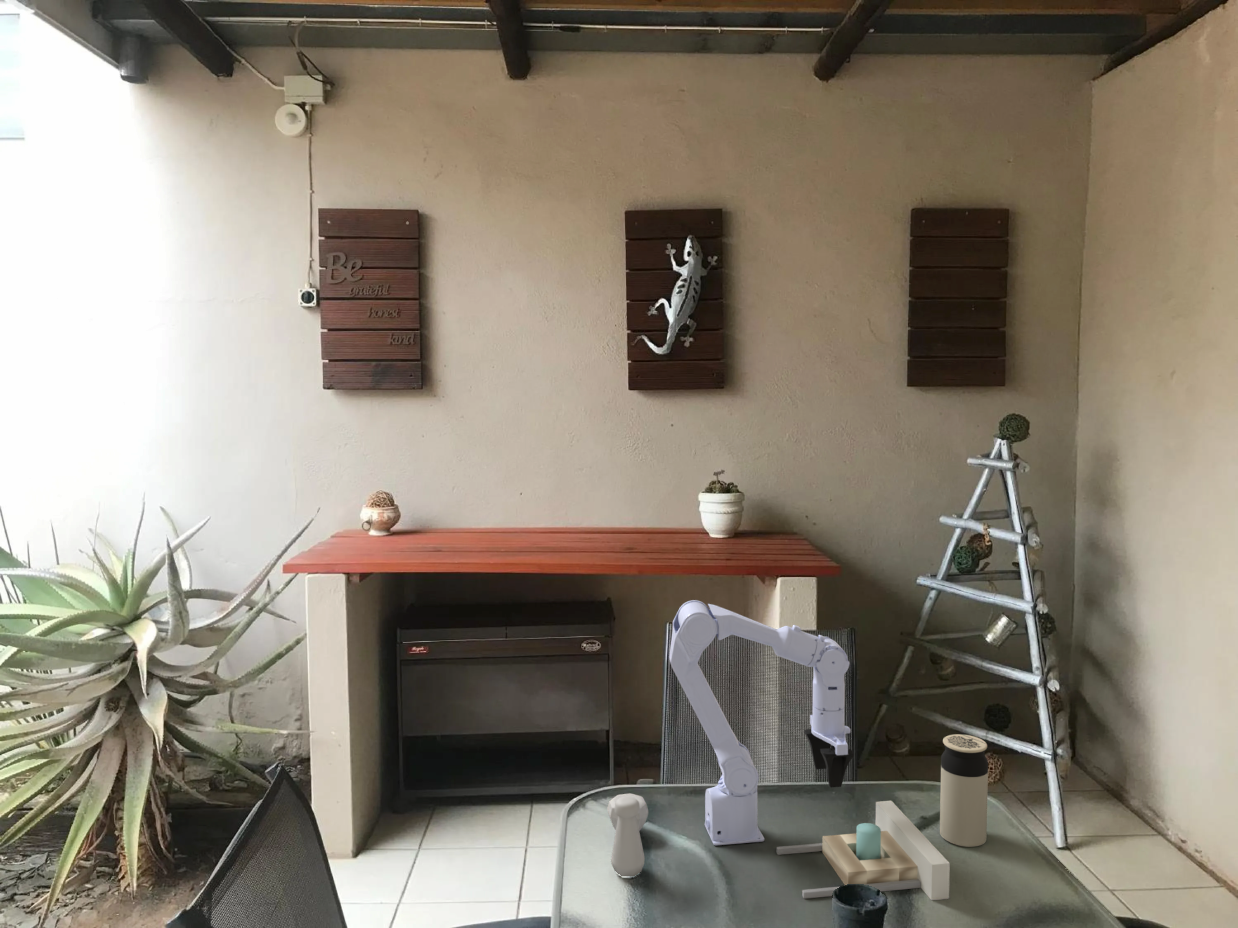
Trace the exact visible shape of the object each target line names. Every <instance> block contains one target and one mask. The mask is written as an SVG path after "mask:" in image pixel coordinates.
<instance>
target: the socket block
mask: <svg viewBox="0 0 1238 928" xmlns="http://www.w3.org/2000/svg"><path fill="white" fill-rule="evenodd" d="M856 835H857V832H854V833H845V834H834V835H822V842H821V843H822V851H821V853H822V854H823V855H824V857H825V858H826V859H827V861H828V863H829V865H830V866H831V867H832V868H833V870H834V871H835V873H836V874H837V876H838V877H839V879H840V880H841V882H842V884H844V885H843V886H845V885H847V884H873V883H883V882H894V881H905V880H916V879H917V867H918V866H917V865H916V864H915V863H914V861H913V860H912V859H911V858H910V857H909V856H908V855H907V853H906V852H905V851H904V850H903V849H902V848H901V846H900V845H899V844H898V843H897V842H896V841H895V839H894V838H893V837H892V836H891V835H890V834H889V832H888V831H881V856H880V859H872V860H860V861H859V860H858V858H857V857H856Z"/></svg>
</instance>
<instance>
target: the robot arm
mask: <svg viewBox="0 0 1238 928" xmlns="http://www.w3.org/2000/svg"><path fill="white" fill-rule="evenodd" d="M730 636H736V637H739V638H743V639H746V640H750V641H752V642H756V643H758V644H761V645H765V646H769V647H771V648H772V649H773V652H774V654H775V655H776V657H778V658H779V657H780V658H782V659H785V660H788V661H790V662H791V661H792V662H793V663H797V664H799V665H803V666H805V667H808V668H813V673H812V674H813V678H812V714H810V715H809V723H810V724H809V725H810V726H811V728H807V729H806V728H805V729H804V731H803V733H804V735H805V737H806V738H807V741H808V744H809V747H810V751H811V756H812V761H813V765H814V768H815V770H825V769H826V775H827V777H826V778H827V783H828V786H829V788H841V787H842V785H843V781H844V778H845V774H846V772H847V771H846V770H847V768H848V765H849V764H850V762H851V761H852V759H853V758H854V753H855V752H854V751H853V750H852V749H851V748H849V744H848V743H847V739H846V736H847V735H846V734H851V731H852V730H851V728H850V727H849V726H847V725H845V703H846V701H845V700H846V699H845V693H846V692H845V690H846V687H845V686H846V685H845V684H846V682H845V674H846V673H847V671H848V669H850V668H849V667H850V661H849V658H848V655H847V652H846V651H845V650H844V649H843V648H842V647H841V646H840V645H839V643H837V641H836V640H834V639H832V638H830V637H829V636H823V635H821V634H818V636H817V635H814V634H812V633H808V632H805V631H802V628H801V627H800V626H799V625H796V624H793V625H792V627H791V626H789V625H784V626H782V627H779V628H774V627H771V626H769V625H767V624H764V623H762V622H759V621H757V620H753V619H751V618H749V617H747V616H744V615H741V614H740V613H737V612H735V611H732V610H729V609H726V608H724V607H721V606H719V605H716V604H712V603H711V604H710V603H707V604H705V603H704V602H703V601H700V600H698V599H695V600H694V599H692V600H691V599H690V600H688V601H686V602H684V603H682V605H681V606H679V609H678V611H676V614H675V616H674V618H673V620H672V632H671V642H670V647H669V657H668V659H669V663H670V666H671V668H672V670H673V672H674V674H675V676H676V678H677V680H678V683H679V684H680V686H681V688H682V690H683V692H684V693H685V696H686V697H687V699H688V701H689V704H690V705H691V708H692V709H693V712H694V713H695V716H696V718H697V719H698V721H699V723H700V725H701V727H702V729H703V730H704V733H705V734H706V736H707V738H708V741H709V743H710V744H711V746H712V748H713V750H714V752H715V755H716V757H717V763H718V766H719V768H720V771H721V773H722V774H721V776H720V778H719V780H718V781H717V785H715V786H714V787H709V788H706V789H705V795H704V806H705V807H704V810H705V811H704V814H705V816H704V820H705V821H704V827H705V829H706V832H707V833H708V835H709V837H710V841H711V842H712V844H713V845H714V846H722V845H723V846H725V845H735V844H746V843H747V844H748V843H759V842H764V841H765V837H764V835H763V834H762V832H761V830H760V828H759V827H758V785H759V780H760V778H759V777H760V776H759V771H758V770H757V768H756V767H755V765H754V761H753V760H752V755H751V753H750V750H749V749H748V747H746V745H744V744H742V743H741V742H740V741H739V740H738V738H737V735H736V734H735V732H734V731H733V729H732V728H731V725H730V723H729V721H728V720H727V718H726V716H725V714H724V712H723V710H722V708H721V705H720V704H719V702H718V700H717V698H716V696H715V694H714V692H713V691H712V688H711V686H710V684H709V683H708V680H707V679H706V677H705V675H704V672H703V671H702V669H701V667H700V665H699V661H700V658H701V656H702V654H703V652H704V651H705V650H706V649H707V648H708V647H709V645H710V644H711V643H712V642H713V641H714V639H715V638H717V640H718V641H721V640H724V639H725V638H727V637H730Z"/></svg>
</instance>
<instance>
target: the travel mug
mask: <svg viewBox="0 0 1238 928" xmlns="http://www.w3.org/2000/svg"><path fill="white" fill-rule="evenodd" d="M942 743H943V744H944V751H943V752H942V754H941V756H940V794H939V795H940V796H939V797H940V798H939V799H940V803H939V807H940V808H939V835H940V836H941V838H943V839H944V840H945V841H947V842H948V843H951V844H952V845H955V846H959V847H966V848H973V847H978V846H979V847H980V846H981V845H984V844H985V843H986V842H987V833H988V832H987V830H988V829H987V828H988V827H987V825H988V793H989V792H988V791H989V790H988V789H989V787H988V785H989V760H988V759H987V757H986V754H985V752H986V751H987V748H988V744H987V742H986V741H984V740H983V739H981V738H979V737H977V736H974V735H970V734H956V733H955V734H949V735H947V736H944V737H943V739H942Z"/></svg>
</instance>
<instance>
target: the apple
mask: <svg viewBox="0 0 1238 928" xmlns="http://www.w3.org/2000/svg"><path fill="white" fill-rule="evenodd" d="M627 796H628V797H633V798H636V799H637V800H638V801H639V805H640V810H639V814H638V815H637V816H636V817H637V823H638V828H639V832H640V831H641V830H642V829H643V827H644V826H645V824H646V821H647V819H648V816H649V809H648V805H647V802H646V800H645V799H644V797H643V796H642V795H638V794H634V793H624V794H623V793H621V794H616V796H614V797H613V798H612V799H611V800H609V801H608V805H607V807H606V810H607V813H608V816H609V819H610V823H611V824H612V827H613V828H614V830H615V831H616V826H617V820H618V816H617V815H616V813H615V802H616V801H617V800H618V799H619V798H621V797H627Z"/></svg>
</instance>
